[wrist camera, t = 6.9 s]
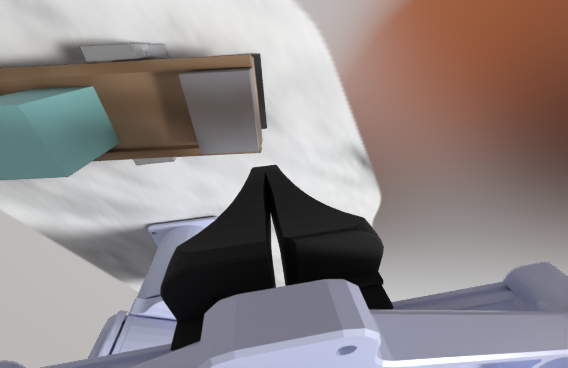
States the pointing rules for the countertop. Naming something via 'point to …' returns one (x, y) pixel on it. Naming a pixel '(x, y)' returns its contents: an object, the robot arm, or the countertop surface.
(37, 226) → the countertop surface
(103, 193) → the countertop surface
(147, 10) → the countertop surface
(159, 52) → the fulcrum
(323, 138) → the countertop surface
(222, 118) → the beam
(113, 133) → the block
